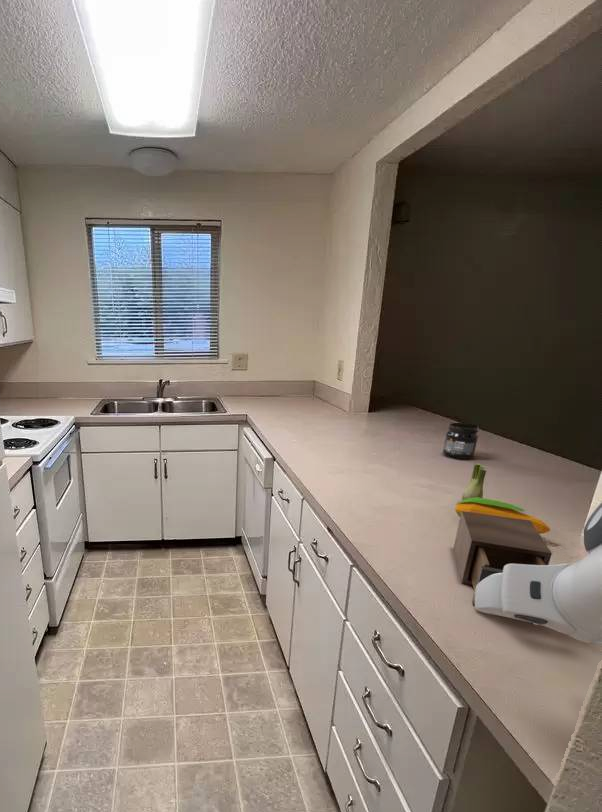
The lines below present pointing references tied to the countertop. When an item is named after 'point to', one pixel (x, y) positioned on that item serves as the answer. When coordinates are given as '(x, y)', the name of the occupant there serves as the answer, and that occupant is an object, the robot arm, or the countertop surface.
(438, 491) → the countertop surface
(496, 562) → the drawer
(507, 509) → the corn
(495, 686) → the countertop surface
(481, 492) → the fennel bulb
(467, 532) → the cabinet
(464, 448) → the supplement container
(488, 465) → the countertop surface
